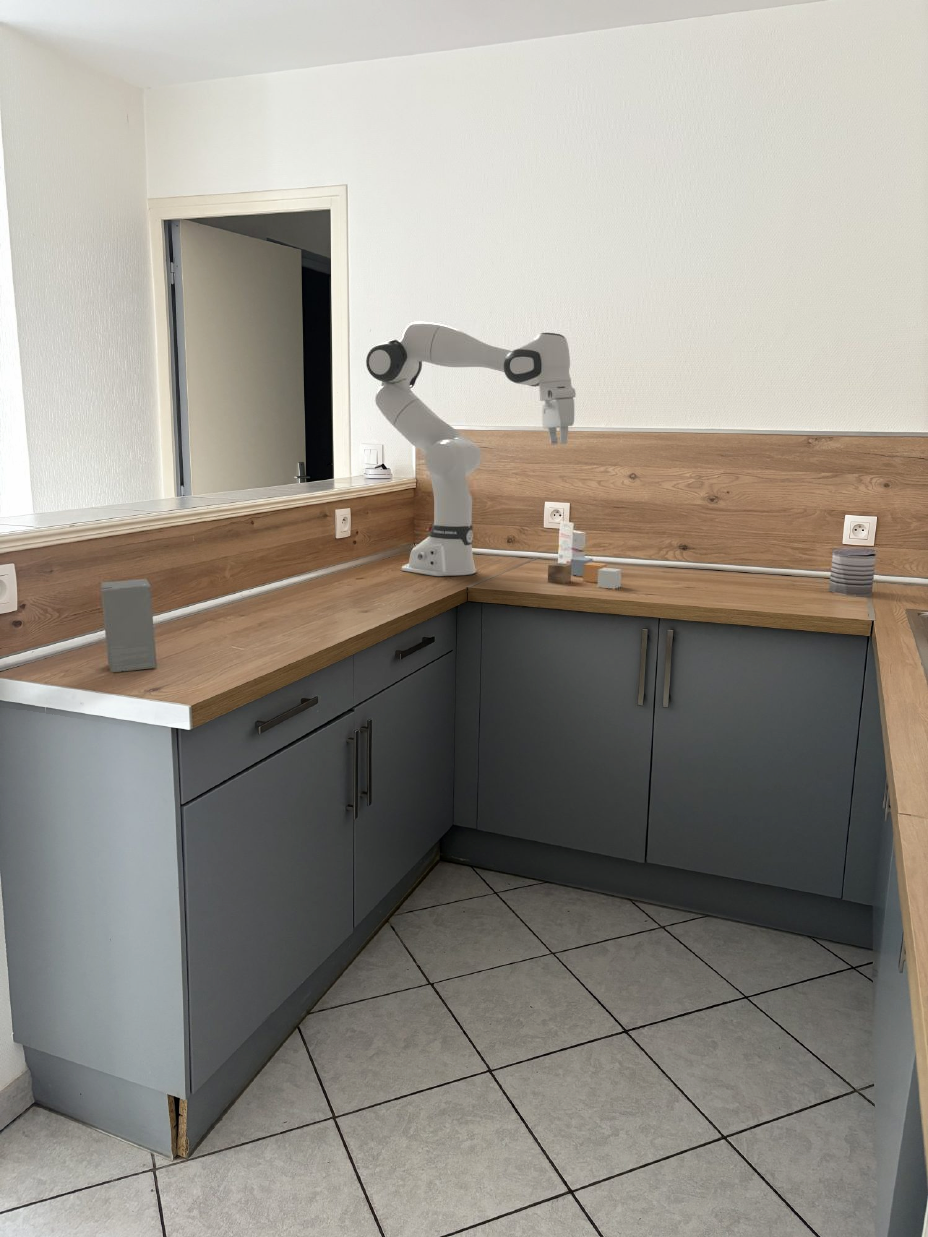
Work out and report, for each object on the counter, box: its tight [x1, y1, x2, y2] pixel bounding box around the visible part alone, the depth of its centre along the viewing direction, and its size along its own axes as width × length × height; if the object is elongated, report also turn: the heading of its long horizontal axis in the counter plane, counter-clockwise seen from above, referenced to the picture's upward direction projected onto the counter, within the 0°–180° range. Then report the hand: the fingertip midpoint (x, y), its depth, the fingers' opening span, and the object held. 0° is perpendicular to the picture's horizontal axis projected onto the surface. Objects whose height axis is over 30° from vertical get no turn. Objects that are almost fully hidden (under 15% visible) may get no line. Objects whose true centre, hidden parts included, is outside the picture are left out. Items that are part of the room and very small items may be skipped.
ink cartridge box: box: [557, 520, 587, 564], centre depth 289 cm, size 9×5×15 cm, turn 25°
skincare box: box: [100, 578, 158, 674], centre depth 169 cm, size 8×7×16 cm
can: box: [828, 547, 878, 597], centre depth 258 cm, size 11×11×12 cm
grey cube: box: [596, 567, 622, 590], centre depth 260 cm, size 5×5×5 cm
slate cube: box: [571, 557, 594, 578], centre depth 279 cm, size 5×5×5 cm
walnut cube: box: [547, 562, 572, 584], centre depth 267 cm, size 5×5×5 cm
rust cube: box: [582, 561, 608, 583], centre depth 269 cm, size 5×5×5 cm
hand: (558, 444), depth 260 cm, fingers open, 8 cm apart
